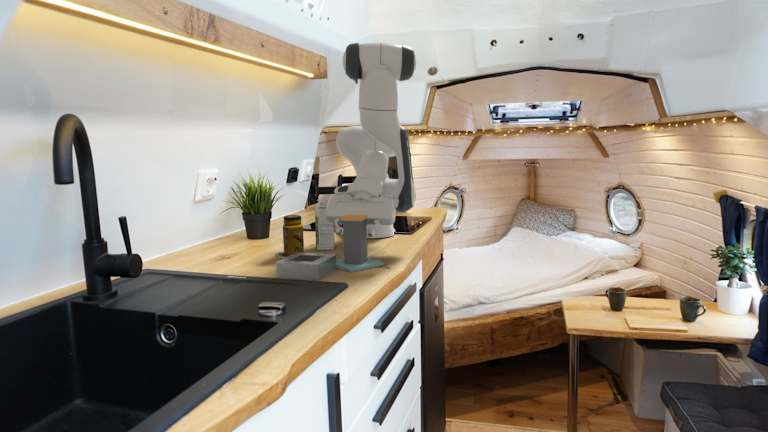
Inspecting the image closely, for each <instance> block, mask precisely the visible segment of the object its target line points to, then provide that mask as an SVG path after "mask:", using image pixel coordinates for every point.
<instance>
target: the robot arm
mask: <svg viewBox="0 0 768 432" xmlns="http://www.w3.org/2000/svg"><path fill="white" fill-rule="evenodd" d="M342 66H343V70H344V72H345V75H346V76H347V77H348V78H349V79H351V80H352V81H354V82H355V84H357V85H358V81H359V90H358V91H359V92H358V93H359V94H358V111H359V120H360V121H359V122H360V125H352V126H351V125H350V126H347V127H343V128H341V129H340V130H339V131H338V133H337V135H336V137H335V146H336V149H337V151H338V152H339V154H340V155H341V156H343V157H344V158H346V160H347V161H348V162H349V163H350V164H351V165H352V167H353V169H354V172H355V175H356V178H355V179H354V181H353V182H351V183H348V184H345V185H342V186H341V185H340V186H337V187H336V188H334V191H333V193H334V195H332V196H331V198H330V199H329V200H328V202H327V203H328V205H327V207H326V210H325V217H326V219H327V220H328V222H329V223H334V224H335V228H336V229H335V236H343V221H341V217H342V216H345V215H347V214H349V215H367V239H382V238H389V237H393V236H394V235H395V233H396V229H395V228H394V224H395V221H396V215H397V213H401V214H402V213H403V214H404V213H407V212H408V211H410V210H411V209H412V208H414V206H415V203H416V200H417V199H416V196H417V194H416V193H417V192H416V188H415V182H414V177H413V176H414V175H413V174H414V173H413V167H412V155H411V147H410V139H409V138H410V137H409V133H408V131H407V129H406V128H405V127H403V125H402V124H401V122H400V120H399V116H398V115H399V114H398V105H399V104H398V101H399V100H398V98H399V97H398V84H397V81H399V82H404V81H409V80H410V79H411V78H412V77H413V75H414V72H415V71H416V68H417V58H416V55H415V51H414V49H413V48H412V47H411V46H408V45H405V44H401V45H400V44H396V43H388V42H380V43H378V42H375V43H374V42H371V43H369V42H368V43H366V42H365V43H360V42H354V43H350V44H348V45H347V46H346V48H345V51H344V52H343V56H342ZM393 157H396V165H397V174H398V175H397V176H398V178H390V177H389V174H388V171H389V170H388V168H389V160H390V158H393ZM394 232H395V233H394Z"/></svg>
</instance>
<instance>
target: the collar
mask: <svg viewBox="0 0 768 432" xmlns="http://www.w3.org/2000/svg"><path fill="white" fill-rule="evenodd" d="M336 260H337V254H334V253H318V252H317V253H315V252H304V253H302V252H297V253H294V254H292V255H290V256H288V257H286V258H281V259H280V260H278V261H275V269H276V278H282V279H293V280H294V279H295V280H306V281H307V280H309V281H320V280H321V279H323V278H325V277H326V276H328V275H329V274H331V273H333V272H334V271H336V270H337V267H336Z"/></svg>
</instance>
